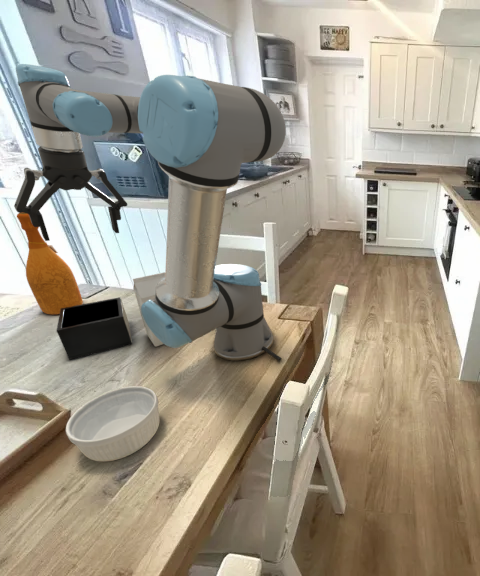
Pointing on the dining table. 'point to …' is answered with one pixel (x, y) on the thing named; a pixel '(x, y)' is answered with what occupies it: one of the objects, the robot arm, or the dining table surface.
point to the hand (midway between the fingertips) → (83, 234)
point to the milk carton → (147, 297)
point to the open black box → (93, 328)
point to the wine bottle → (48, 273)
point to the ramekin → (115, 423)
